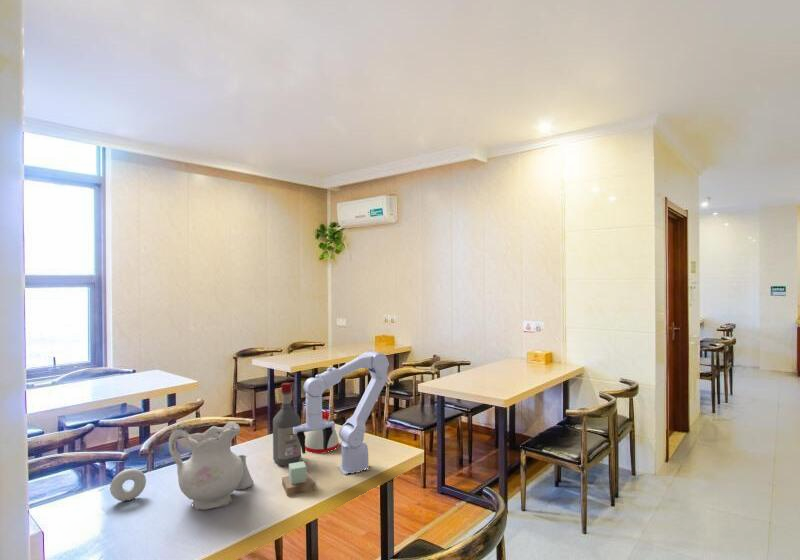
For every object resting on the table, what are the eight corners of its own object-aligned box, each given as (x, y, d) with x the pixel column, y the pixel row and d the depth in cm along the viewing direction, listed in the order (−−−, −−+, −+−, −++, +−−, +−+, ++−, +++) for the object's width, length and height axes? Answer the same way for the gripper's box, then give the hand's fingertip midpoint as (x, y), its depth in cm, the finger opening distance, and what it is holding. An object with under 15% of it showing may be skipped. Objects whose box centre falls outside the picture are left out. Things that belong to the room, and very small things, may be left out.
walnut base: (308, 481, 160) (308, 472, 160) (314, 491, 152) (314, 482, 152) (282, 486, 157) (282, 477, 157) (287, 497, 149) (286, 488, 149)
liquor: (303, 462, 176) (302, 384, 175) (279, 468, 170) (278, 387, 170) (294, 454, 183) (293, 379, 183) (271, 460, 178) (270, 383, 178)
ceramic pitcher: (169, 527, 133) (169, 443, 131) (168, 494, 150) (168, 419, 148) (247, 509, 143) (248, 431, 141) (238, 480, 160) (238, 410, 158)
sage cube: (303, 475, 158) (303, 461, 158) (306, 481, 153) (306, 466, 153) (289, 478, 156) (288, 463, 156) (291, 484, 151) (291, 469, 151)
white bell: (345, 446, 192) (344, 410, 192) (319, 456, 182) (318, 418, 182) (324, 438, 201) (323, 404, 201) (298, 447, 191) (297, 411, 191)
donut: (110, 507, 143) (109, 474, 143) (109, 502, 146) (109, 471, 145) (146, 498, 148) (146, 467, 148) (145, 493, 151) (145, 463, 151)
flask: (245, 491, 152) (245, 461, 152) (226, 489, 154) (225, 459, 154) (257, 481, 159) (256, 453, 159) (238, 480, 161) (237, 451, 161)
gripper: (330, 407, 169) (331, 443, 169) (291, 412, 162) (291, 450, 163) (336, 412, 162) (336, 450, 162) (295, 417, 156) (295, 457, 156)
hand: (314, 451), depth 162 cm, fingers open, 7 cm apart
